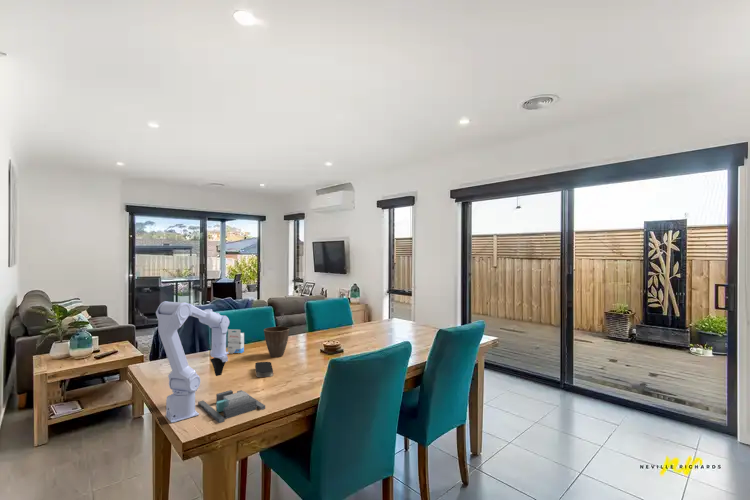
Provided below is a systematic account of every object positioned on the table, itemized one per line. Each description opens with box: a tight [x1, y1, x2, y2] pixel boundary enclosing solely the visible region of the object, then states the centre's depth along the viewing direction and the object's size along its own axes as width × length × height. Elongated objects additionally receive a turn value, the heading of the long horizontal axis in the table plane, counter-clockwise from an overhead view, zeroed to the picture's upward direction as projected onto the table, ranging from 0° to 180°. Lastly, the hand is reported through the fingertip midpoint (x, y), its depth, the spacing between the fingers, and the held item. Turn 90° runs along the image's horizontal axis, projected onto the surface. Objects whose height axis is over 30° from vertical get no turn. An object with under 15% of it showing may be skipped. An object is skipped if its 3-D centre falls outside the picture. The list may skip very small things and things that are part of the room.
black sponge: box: [254, 361, 274, 378], centre depth 186 cm, size 16×8×4 cm, turn 20°
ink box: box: [227, 328, 245, 354], centre depth 223 cm, size 8×5×15 cm, turn 85°
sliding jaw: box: [215, 389, 234, 413], centre depth 147 cm, size 12×10×4 cm
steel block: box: [224, 390, 250, 408], centre depth 141 cm, size 8×5×6 cm, turn 134°
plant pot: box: [263, 326, 290, 358], centre depth 217 cm, size 15×15×16 cm
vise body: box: [197, 389, 266, 424], centre depth 145 cm, size 18×22×4 cm
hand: (218, 375), depth 154 cm, fingers closed
